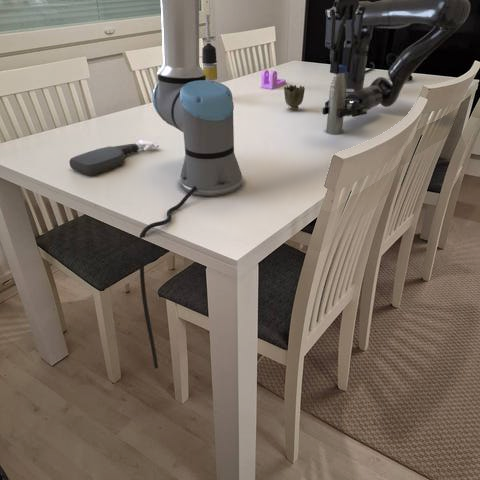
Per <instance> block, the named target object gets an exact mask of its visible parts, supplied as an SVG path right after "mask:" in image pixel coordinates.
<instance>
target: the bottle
mask: <svg viewBox="0 0 480 480" xmlns="http://www.w3.org/2000/svg"><path fill="white" fill-rule="evenodd" d="M345 98H346V80H345V73H338V74H334V76H333V78H332V81H331V85H330V88H329V98H328V100H329V107H328V114H327V118H326V133H327V134H330V135H339V134H342V133H343V127H344V126H343V125H344V117H342V118H338V112H339V110H342V109H344V107H345Z"/></svg>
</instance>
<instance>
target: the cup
mask: <svg viewBox="0 0 480 480" xmlns="http://www.w3.org/2000/svg"><path fill="white" fill-rule="evenodd" d="M283 90H284V91H283V92H284V101H285V103H286V105H287V106H288V110H289V111H292V112H295V111H298V110H299V106H300V105H302V103H303V101H304V97H305V91H306V87H305V85H304V86H302V85H299V86H297V85H292V84H290V85H289V86H288V85H286V86H284V88H283Z"/></svg>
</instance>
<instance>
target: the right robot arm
mask: <svg viewBox="0 0 480 480" xmlns="http://www.w3.org/2000/svg"><path fill="white" fill-rule="evenodd" d="M359 5H360V6H362V7H366V10H365V13H364V15H363V21H362V29H361V36H360V43H359V44H358V45H357V47H356V48H353V56H352V59H351V65H350V72H346V73H345V80H346V98H345V107H344V109H342V110H339V112H338V118H342V117H343V118H344V117H350V116H351V117H352V118H355V117H359V116H363V115H367V114H368V111H370V110H371V109H373V108H375V107H377V106H379V105H381V106H382V107H384V108H388V107H391V106H393V105H394V104H395V103H396V101H398V98H399V96H400V94H401V92H402V90H403V87H404V85H405V84H406V82H407V80H409V79H408V78H409V77H410V75H412V74H413V73H414V72H415V71H416V69H417V68H418V67H419V66H420V65H421V64H422V63H423V62H424V60H425V59H427V58H428V57H429V56H430V55H431V54H432V53H433V52H434V51H435V50H436V49H437V48H438V47H439V46H441V44H442V43H444V42H445V41H446V40H447V39H448V38H449V37H450V36H451V35H453V34H454V33H455V32H456V31H457V30H458V29H459V28H460V27H461V26H462V25H463V24H464V23H465V22H466V20H467V18H468V17H469V14H470V12H471V3H470V1H469V0H378V1H373V2H371V1H369V0H363V1H360V0H359ZM412 24H423V25H429V26H432V27H433V28H432V29H431V30H430V31H429V32H428V33H426V34H425V35H423V37H421V38H420V39H419V40H417V41H416V42H414V43H413V44H411V45H410V46H408V47H407V48H405V50H403V51H402V52H401V53H400V54H399V55H398V56H399V57H398V58H397V59H396V61H395V60H394V61H393V65H392V66H389V69H388V70H387V75H388V79H389V80H388V79H387V78H386V77H384V76H378V77H377V78H375V79H374V80H373V81H372V82H371V83H370V85H369V86H366V87H365V88H364V84H365V76H366V73H369V72H371V71H372V70H374V69H375V68H376V65H375V64H374V62H373V61H370V62H369V66H372V67H371V68H368V69H366V68H367V63H368V62H367V61H368V52H369V46H370V43H371V40H372V37H373V32H374V31H373V30H374V28H378V29H393V30H394V29H404V28H407V27H409V26H410V25H412ZM343 27H345V24H344V26H343ZM355 40H356V39H355ZM344 47H347V46H346V39H345V40H344V42H343V48H344ZM390 81H391V82H390ZM328 107H329V99H328V100H327V101H325V102H324V107H322V115H328Z"/></svg>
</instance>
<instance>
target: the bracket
mask: <svg viewBox="0 0 480 480" xmlns="http://www.w3.org/2000/svg"><path fill="white" fill-rule="evenodd" d="M260 76H261V79H260V80H261V83H260V84H261V85H260V87H261V88H264V89H270V90H274V89H276V88H279V87H281V86H284V85H286V84H287V79H284V78H278V72H277V71H276V70H271V71H269V70H268V69H263V70H262V71H261V75H260Z"/></svg>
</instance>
